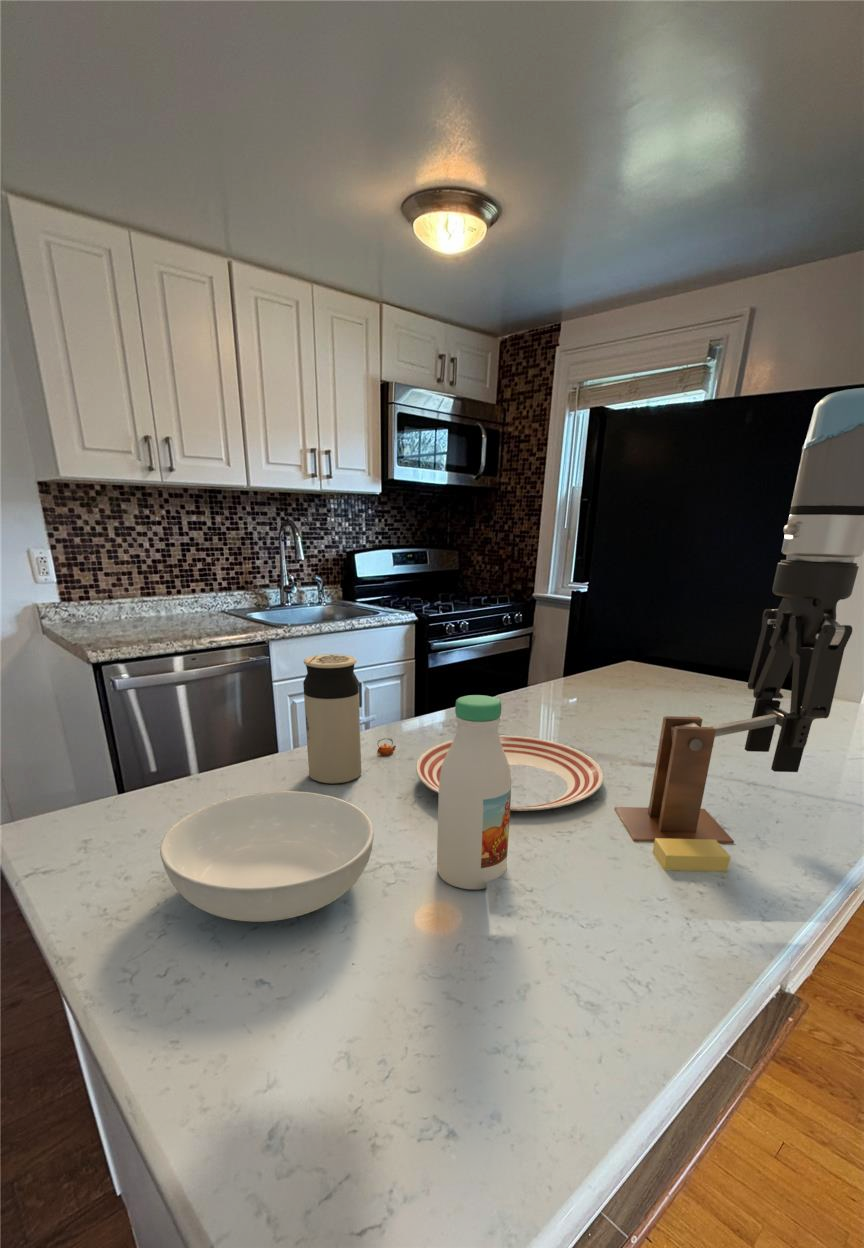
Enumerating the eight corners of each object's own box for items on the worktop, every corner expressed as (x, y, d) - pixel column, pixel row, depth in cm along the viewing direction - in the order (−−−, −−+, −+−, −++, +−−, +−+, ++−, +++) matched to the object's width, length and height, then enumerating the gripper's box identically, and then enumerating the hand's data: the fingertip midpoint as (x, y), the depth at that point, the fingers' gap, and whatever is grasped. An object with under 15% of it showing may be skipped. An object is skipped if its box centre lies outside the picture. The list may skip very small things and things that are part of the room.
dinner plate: (592, 841, 75) (595, 817, 74) (387, 807, 83) (387, 785, 82) (607, 765, 99) (609, 746, 98) (447, 745, 108) (448, 727, 106)
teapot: (381, 749, 105) (380, 735, 104) (397, 752, 104) (396, 737, 103) (373, 755, 102) (373, 740, 101) (390, 757, 101) (390, 742, 100)
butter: (711, 862, 71) (715, 839, 70) (725, 880, 67) (731, 856, 66) (650, 860, 71) (654, 837, 70) (662, 879, 67) (666, 855, 66)
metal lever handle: (775, 718, 75) (775, 699, 74) (802, 733, 69) (802, 714, 68) (667, 740, 76) (665, 722, 75) (684, 757, 71) (683, 738, 70)
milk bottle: (455, 898, 63) (460, 713, 56) (426, 862, 70) (428, 693, 63) (518, 882, 66) (532, 705, 59) (485, 850, 73) (493, 687, 65)
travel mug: (367, 767, 97) (364, 655, 90) (352, 787, 90) (348, 666, 83) (319, 763, 98) (313, 652, 92) (301, 782, 91) (293, 663, 84)
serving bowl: (284, 982, 51) (277, 914, 49) (124, 909, 61) (112, 848, 58) (411, 870, 68) (411, 815, 66) (271, 826, 78) (266, 776, 75)
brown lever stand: (702, 818, 82) (723, 712, 76) (731, 852, 73) (758, 735, 68) (613, 816, 82) (627, 710, 76) (632, 849, 73) (650, 733, 68)
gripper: (743, 554, 74) (707, 734, 83) (836, 563, 56) (778, 791, 65) (805, 555, 74) (762, 735, 82) (918, 565, 56) (849, 793, 65)
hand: (769, 759), depth 74 cm, fingers closed on metal lever handle, 6 cm apart
